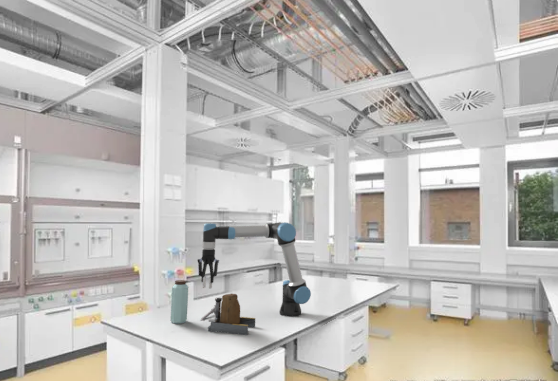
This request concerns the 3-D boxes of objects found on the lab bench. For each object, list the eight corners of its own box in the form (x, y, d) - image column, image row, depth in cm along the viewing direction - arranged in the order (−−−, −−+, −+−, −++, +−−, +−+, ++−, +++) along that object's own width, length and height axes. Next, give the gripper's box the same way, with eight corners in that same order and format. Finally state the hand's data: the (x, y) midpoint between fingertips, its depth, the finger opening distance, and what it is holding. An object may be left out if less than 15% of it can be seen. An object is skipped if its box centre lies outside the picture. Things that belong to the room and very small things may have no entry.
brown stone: (226, 332, 209) (227, 296, 210) (218, 329, 214) (220, 294, 216) (241, 328, 216) (242, 294, 218) (233, 325, 222) (235, 292, 223)
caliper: (215, 313, 250) (216, 304, 250) (217, 313, 250) (217, 304, 250) (200, 320, 231) (200, 310, 231) (201, 321, 230) (202, 310, 231)
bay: (255, 326, 220) (255, 318, 221) (247, 335, 204) (247, 325, 205) (218, 323, 225) (218, 314, 226) (207, 331, 209) (208, 321, 210)
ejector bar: (225, 323, 225) (226, 295, 226) (214, 331, 208) (216, 301, 209) (219, 322, 226) (220, 295, 227) (208, 331, 209) (209, 301, 210)
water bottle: (190, 320, 230) (192, 280, 232) (180, 324, 220) (182, 282, 222) (176, 318, 233) (178, 279, 235) (166, 322, 223) (169, 281, 225)
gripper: (223, 249, 224) (222, 287, 222) (198, 247, 227) (197, 286, 226) (219, 249, 217) (217, 290, 215) (193, 248, 220) (191, 288, 218)
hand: (207, 288), depth 220 cm, fingers open, 3 cm apart
